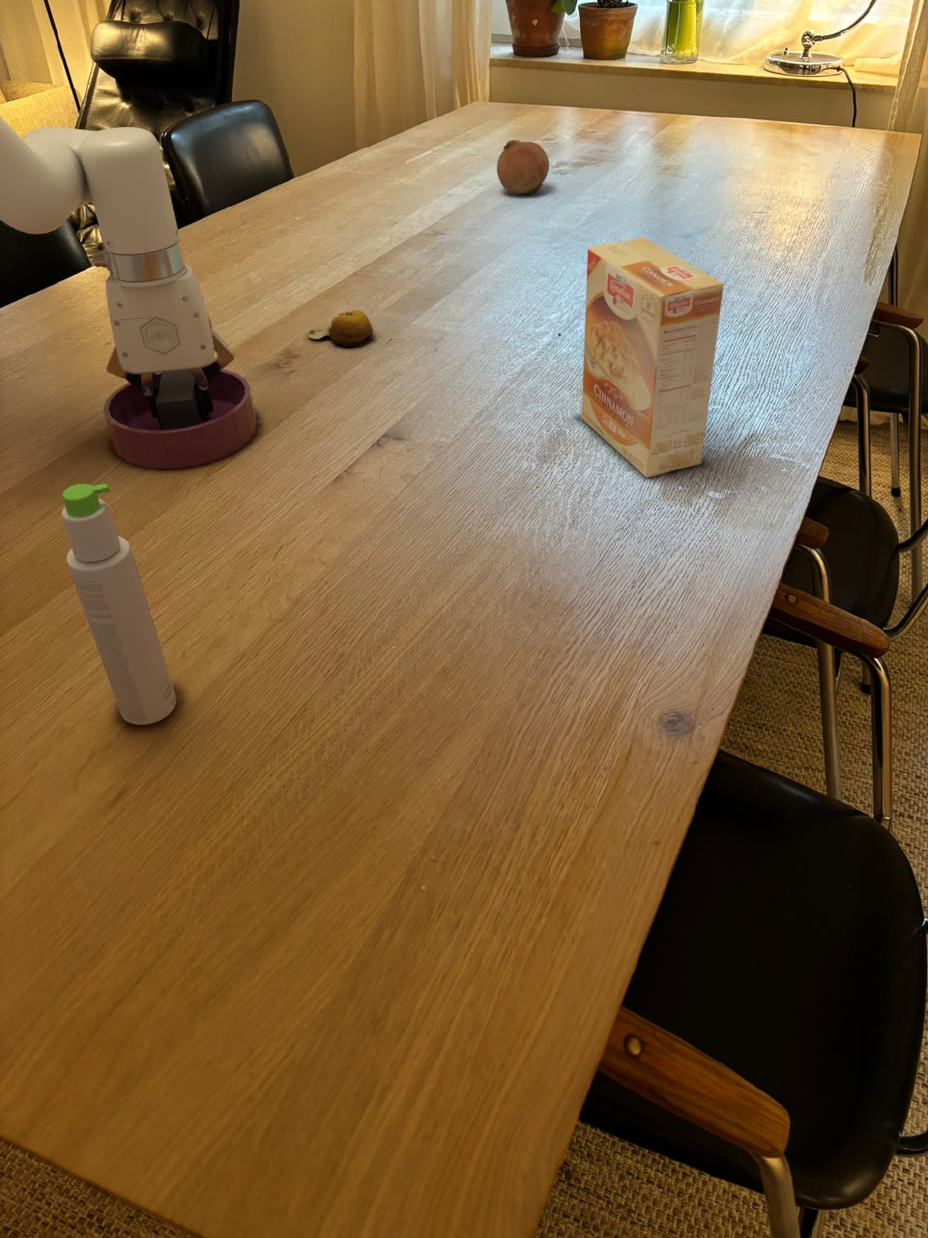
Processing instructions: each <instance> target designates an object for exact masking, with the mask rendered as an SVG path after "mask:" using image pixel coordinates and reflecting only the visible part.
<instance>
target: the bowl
mask: <svg viewBox="0 0 928 1238" xmlns="http://www.w3.org/2000/svg"><path fill="white" fill-rule="evenodd" d="M161 376H162V372H159V373H155V380H156V382H158V384H160V380H161ZM209 389H210V393H211V398H212V402H213V412H209V418H208V422H205V423H202V424H199V425H195V426H190V427H186V428H181V429H171V430H163V429H162V428H161V427H160V424H159V421H158V418H153V416H152V413H151V409H150V405H149V401H148V397H147V396H146V395H144V394H143V393H142V390H140V389H138V388H137V387H135V386H134V385H132V384H131V383H129V382H127V383H125V384H123V385H121V386H120V387H119V388H117V389H116V390H115V391H113V392H112V393H111V394H110V395H109V397H108V398H107V399H106V400H105V401H104V405H103V410H102V411H103V415H104V418H105V421H106V426H107V428H108V432H109V435H110V439H111V442H112V445H113V448H114V451H115V452H116V454H117V455H118V457H119V458H121V459H122V460H123V461H125V462H127V463H129V464H131V465H134V466H137V467H141V468H146V469H152V470H153V469H154V470H177V469H178V470H179V469H187V468H192V467H197V466H202V465H207V464H210V463H212V462H215V461H219V460H222V459H224V458H226V457H228V456H230V455H232V454H234V453H236V452H237V451H239V450H240V449H242V448H243V447H244V446H245V445H247V444H248V443H249V442H250V441H251V440H252V439H253V437H254V435H255V433H256V432H257V416H256V410H255V405H254V400H253V394H252V388H251V386H250V384H249V382H248V381H247V379H246V378H244V377H243V376H241V375H240V374H239V373H236V372H234V371H231V370H228V369H225V368H223V369H221V370H220V372H219V373H218V374H217V376H216V377H215V378H214V380H213V381H212V382H211V383H210V385H209Z"/></svg>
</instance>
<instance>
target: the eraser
mask: <svg viewBox="0 0 928 1238" xmlns="http://www.w3.org/2000/svg"><path fill="white" fill-rule="evenodd" d="M195 384H196V381H195V379H194V377H193V375H192V372H191V370H190V369H189V370H179V371H170V372H162V376H161V380H160V385H159V390H158V395H157V399H156V406H157V410H158V414H159V418H160V421H161V425H162V429H163V430H171V429H181V428H186V427H190V426H195V425H199V424H202V423H203V422H202V421H201V417H200V413H199V408H198V404H197V400H196V395H195V389H196V385H195Z"/></svg>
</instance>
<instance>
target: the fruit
mask: <svg viewBox="0 0 928 1238" xmlns="http://www.w3.org/2000/svg"><path fill="white" fill-rule="evenodd" d="M373 333H374V328H373V326H372V324H371V321H370V319H369V317H368V315H366V313H365V312H364V311H362V310H361V309H354V310H351V311H349V310H348V311H345V312H341V313H338V314H337V315H336V316H335V317H334V318H333V319H332V321H331V323H330V325H328V326H327V327H324V329H323V330H321V331H316V330H315V329H312V330H310V331H308V333H307V338H309V339H312V340H320V339H321V338H323V337H326V336H329V337H330V339H331V340H332V341H333V343H335V344H337V345H339V346H340V347H343V348H351V347H354V346H356V345H358V344H359V343H360V342H364V340H365V339H366V338H367V337H369V338H372V335H373Z"/></svg>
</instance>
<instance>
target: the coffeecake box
mask: <svg viewBox="0 0 928 1238" xmlns="http://www.w3.org/2000/svg"><path fill="white" fill-rule="evenodd" d="M586 264H587V265H586V266H587V267H586V290H585V291H586V293H585V318H584V343H583V344H584V345H583V346H584V347H583V371H582V372H583V373H582V394H581V395H582V396H581V397H582V398H581V415H580V419H581V420H582V421H583V422H584V423H586V424H587V425H588V426H589V427H590V428H591V429H592V430H593V431H595V432H596V433H597V434H598V435H599V436H600V437H601V438H602V439H603V440H604V441H605V442H607V443H608V444H609V445H610V446H611V447H612V448H613V449H614V450H615V451H617V452H618V453H619V454H620V455H621V456H622V457H623V458H624V459H625V460H627V462H628V463H630V464H631V465H632V466H633V467H634V468H635V469H636V470H637V471H638V472H640V474H642V475H643V476H644V477H645V478H651V477H657V476H660V475H663V474H667V473H669V472H672V471H677V470H681V469H686V468H691V467H694V466H698V465H701V464H702V461H703V460H702V459H703V452H704V451H703V450H704V442H705V436H706V435H705V434H706V428H707V420H708V411H709V405H710V396H711V388H712V380H713V373H714V365H715V355H716V349H717V341H718V333H719V325H720V317H721V316H720V315H721V307H722V301H723V293H724V286H725V284H724V282H721V281H719V280H717V279H715V278H714V277H712V276H710V275H709V274H707V273H705V272H704V271H702V270H701V269H699V268H697V267H695V266H694V265H692V264H690V263H689V262H687V261H685V260H683V259H682V258H680V257H679V256H677V255H675V254H674V253H672V252H671V251H668V250H667V249H665V248H663V247H661V246H659V245H657V244H656V243H654V242H652V241H651V240H649V239H648V238H646V237H641V238H640V237H639V238H636V239H629V240H624V241H618V242H606V243H602V244H597V245H593V246H589V247H588V248H587V263H586Z"/></svg>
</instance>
